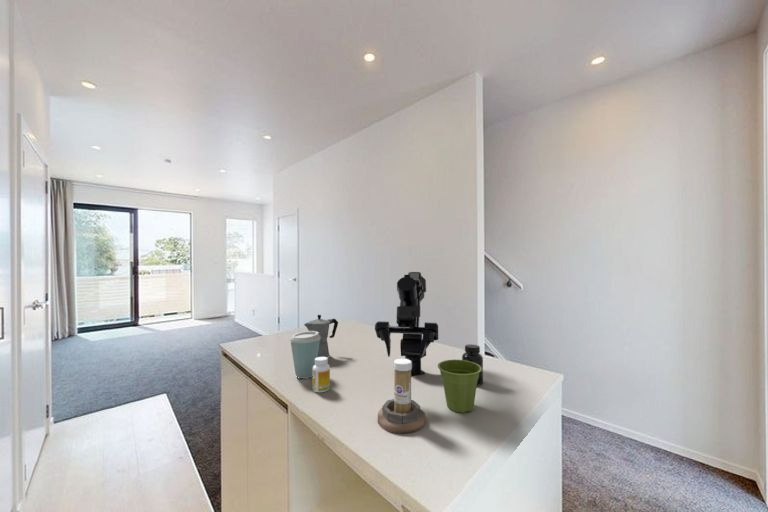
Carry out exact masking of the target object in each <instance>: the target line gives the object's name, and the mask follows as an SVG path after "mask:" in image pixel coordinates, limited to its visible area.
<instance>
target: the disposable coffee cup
mask: <svg viewBox="0 0 768 512" xmlns="http://www.w3.org/2000/svg"><path fill="white" fill-rule="evenodd" d="M320 339H321V338H320V336H319V332H317V331H309V330H307V331H301V332H297V333H294V334H292V336H290V337H289V342H290V346H291V347H290V348H291V353H292V360H293V366H294V373H295V376H297V377H299V378H298V379H300V378H306V379H310V378H309V377H311V378H313V377H312V376H313V366H314V365H316V364H315V358H317V357H318V349H319V342H320ZM297 377H296V378H297Z"/></svg>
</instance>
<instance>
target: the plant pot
mask: <svg viewBox="0 0 768 512" xmlns="http://www.w3.org/2000/svg"><path fill="white" fill-rule="evenodd" d="M437 368H438V369H439V373H440V377H441V379H442V384H443V390H444V395H445V404H446V407H447V408H448V409H450V410H451V411H453V412H456V413H463V414H464V413H467V412H471V411H473V410H474V406H475V401H476V400H475V399H476V391H477V386H478V385H477V381H478V378H479V373H480V372H481V370H482V368H481V366H480V365H478V364H476V363H474V362H471V361H466V360H462V359H445V360H442V361H440V362H439V363H438V364H437Z"/></svg>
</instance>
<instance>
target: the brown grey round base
mask: <svg viewBox="0 0 768 512" xmlns="http://www.w3.org/2000/svg"><path fill="white" fill-rule="evenodd" d="M377 424H378V426H380V427H381V428H382V429H383V430H384V431H387V432H390V433H392V434H399V435H400V434H401V435H402V434H412V433H415V432H419V431H420V430H421V429H422V428H424V427H425V424H426V413H425V412H424V410H423V409H421V405H419V404H418V403H417V402H416V401H415V400H413V399H411V412H408V413H404V414H401V413H396V412H394V398H393V399H388V400H386V402H384V404H383V405H382V407H381V408H380V409H379V410H378V412H377Z"/></svg>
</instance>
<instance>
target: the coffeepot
mask: <svg viewBox="0 0 768 512" xmlns="http://www.w3.org/2000/svg"><path fill="white" fill-rule="evenodd" d="M331 324H333V326H332V327H333V329H332V332H331V335H329V329H330V325H331ZM338 324H339V322H338V320H337V319H336V318H331V319H330V318H329V319H323V318H322V315H321V314H317V319H313V320H310V321H308V322H305V323H304V324H303V326H305V327H306V329H307V331H317V332H319V336H320V338H321V339H320V342H319V349H318V357H328V356H330V352H329V344H328V338H329V339H333V338H335V335H336V332H337V328H338Z"/></svg>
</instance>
